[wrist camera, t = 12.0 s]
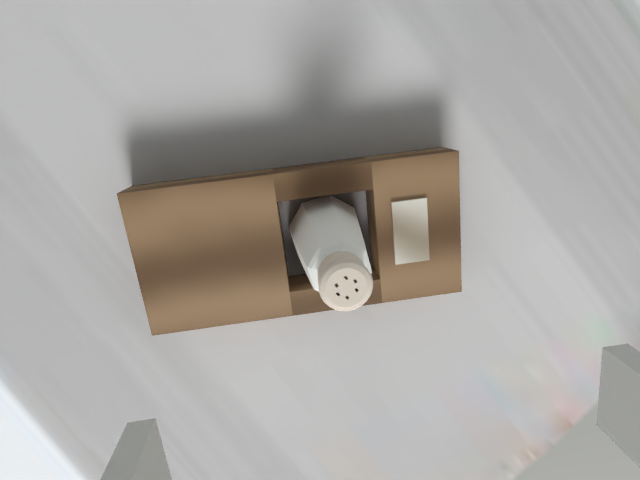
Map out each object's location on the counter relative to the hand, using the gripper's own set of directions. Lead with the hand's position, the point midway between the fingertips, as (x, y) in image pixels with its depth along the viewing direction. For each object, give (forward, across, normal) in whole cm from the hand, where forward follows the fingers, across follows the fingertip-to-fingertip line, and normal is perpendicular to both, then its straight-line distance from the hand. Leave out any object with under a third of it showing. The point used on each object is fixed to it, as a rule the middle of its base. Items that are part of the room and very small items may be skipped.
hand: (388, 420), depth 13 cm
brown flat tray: (+21, -2, 0) cm, 21 cm away
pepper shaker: (+21, 0, 0) cm, 21 cm away
